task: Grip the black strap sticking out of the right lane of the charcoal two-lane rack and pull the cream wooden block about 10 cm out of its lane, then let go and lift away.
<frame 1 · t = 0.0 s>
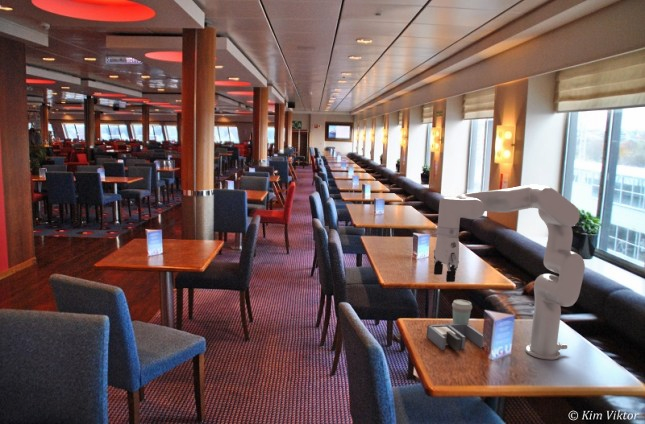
hand: (444, 278, 192), 31 cm above the table, tool pointing down, fingers open, 9 cm apart
coffee cup: (459, 329, 230), on the table
cream block: (448, 338, 210), point 3 cm above the table, slide at 0.0 cm
lane rack: (454, 342, 214), on the table
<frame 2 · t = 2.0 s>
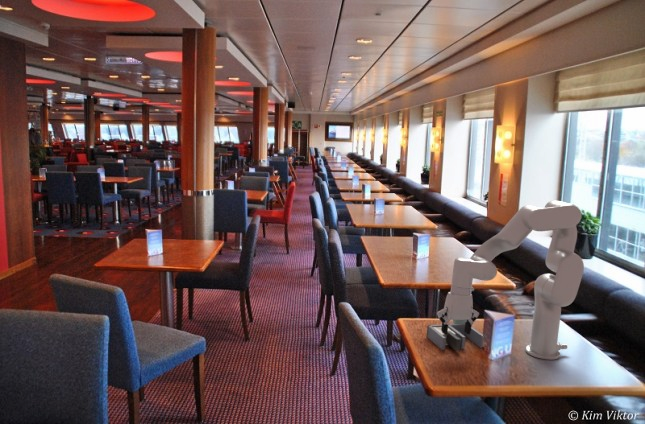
hand: (455, 333, 203), 8 cm above the table, tool pointing down, fingers open, 9 cm apart
nothing on the table moved.
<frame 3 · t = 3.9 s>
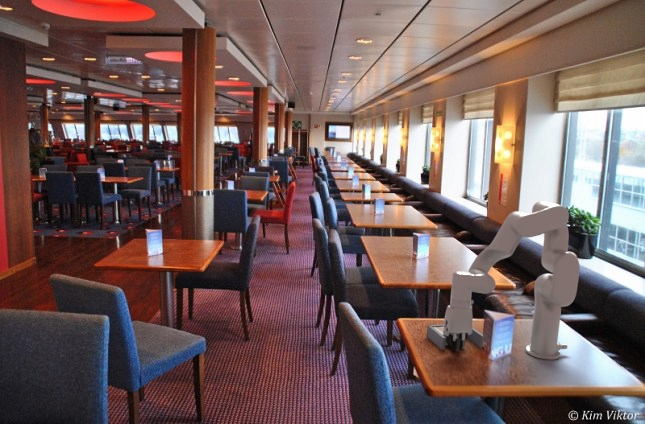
hand: (456, 349, 204), 1 cm above the table, tool pointing down, fingers closed on cream block
cream block: (448, 338, 210), point 3 cm above the table, slide at 0.0 cm, touching gripper
everything else where it was.
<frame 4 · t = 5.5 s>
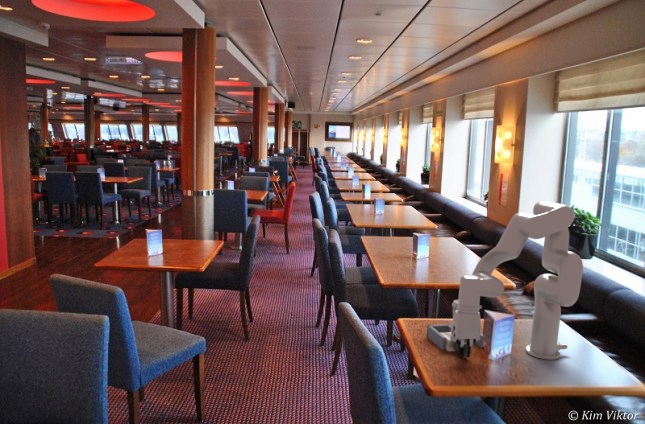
hand: (463, 355, 199), 1 cm above the table, tool pointing down, fingers closed on cream block
cream block: (455, 344, 205), point 3 cm above the table, slide at 6.0 cm, touching gripper
everything else where it was.
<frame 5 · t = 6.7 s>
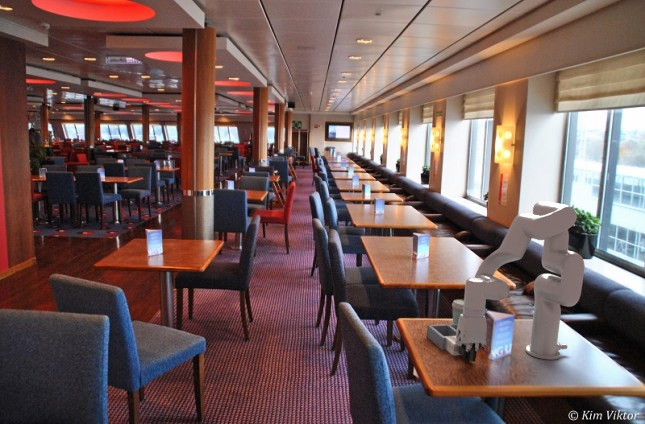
hand: (469, 359, 195), 1 cm above the table, tool pointing down, fingers closed on cream block
cream block: (460, 348, 201), point 3 cm above the table, slide at 10.0 cm, touching gripper
everything else where it was.
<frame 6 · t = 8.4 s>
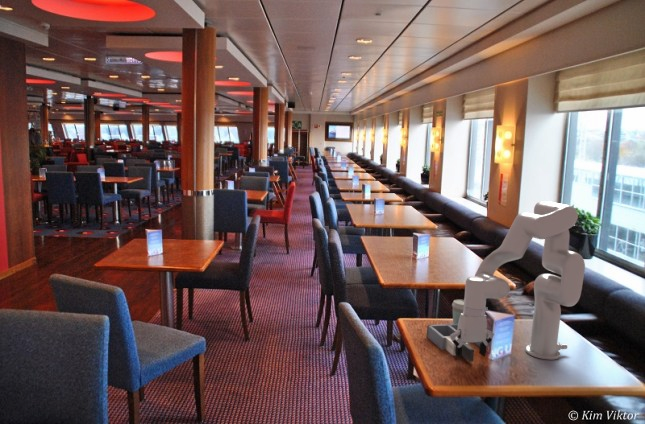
hand: (470, 355, 195), 3 cm above the table, tool pointing down, fingers open, 9 cm apart
cream block: (460, 348, 201), point 3 cm above the table, slide at 10.0 cm
everything else where it was.
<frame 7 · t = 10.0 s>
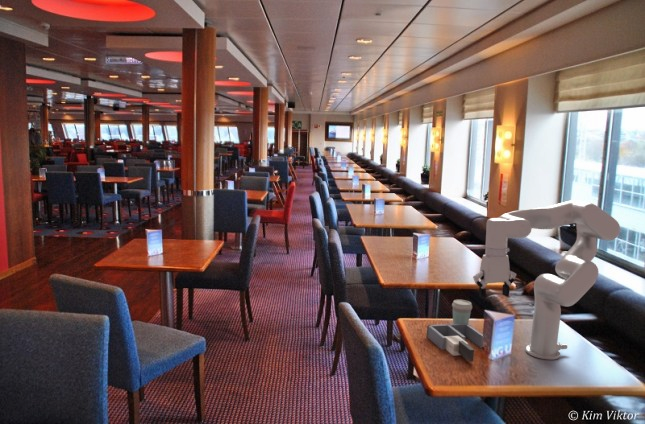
hand: (494, 296, 197), 24 cm above the table, tool pointing down, fingers open, 9 cm apart
nothing on the table moved.
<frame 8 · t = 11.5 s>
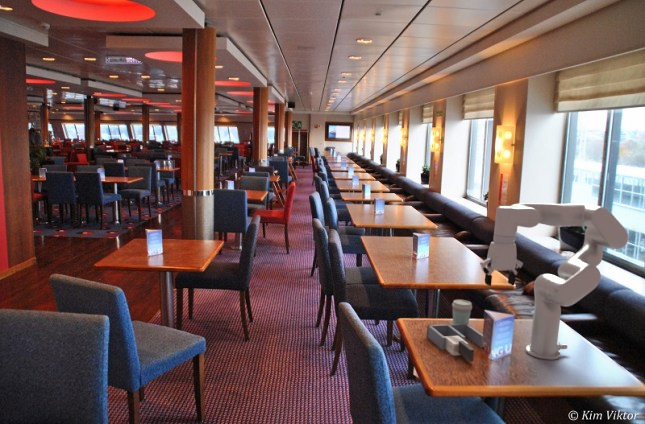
hand: (499, 284, 198), 28 cm above the table, tool pointing down, fingers open, 9 cm apart
nothing on the table moved.
at the end: cream block slide at 10.0 cm; the gripper is holding nothing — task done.
